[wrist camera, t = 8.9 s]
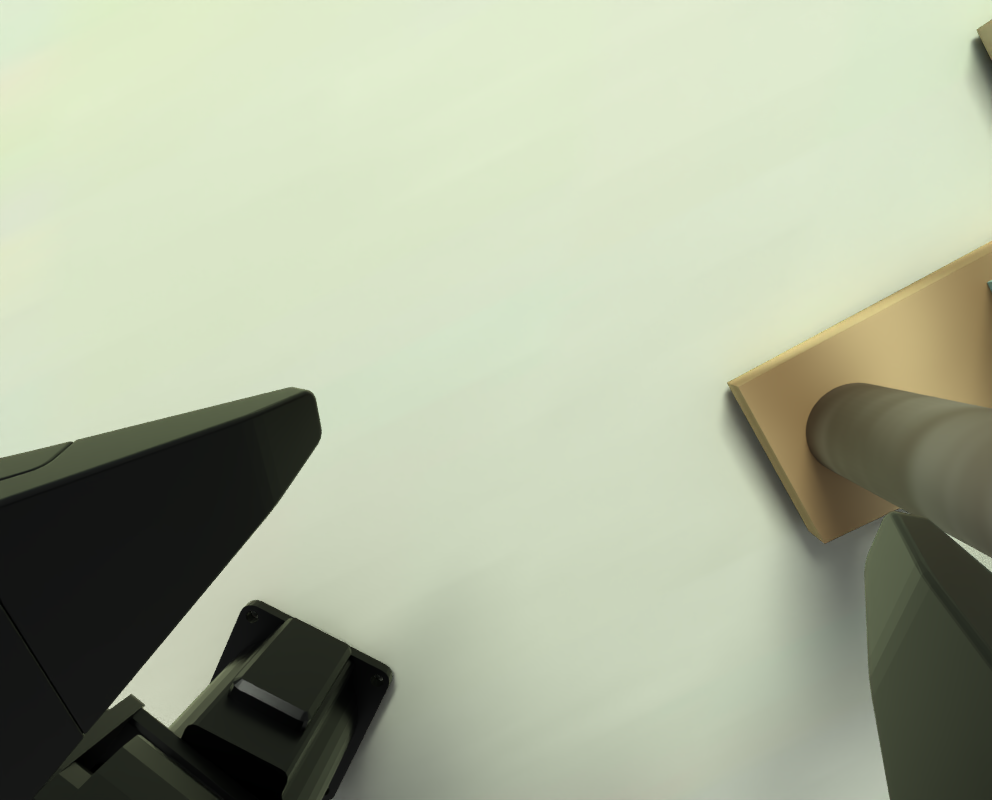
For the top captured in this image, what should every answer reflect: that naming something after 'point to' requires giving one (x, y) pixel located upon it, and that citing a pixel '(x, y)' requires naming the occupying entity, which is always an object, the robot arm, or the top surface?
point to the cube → (990, 285)
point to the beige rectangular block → (986, 36)
